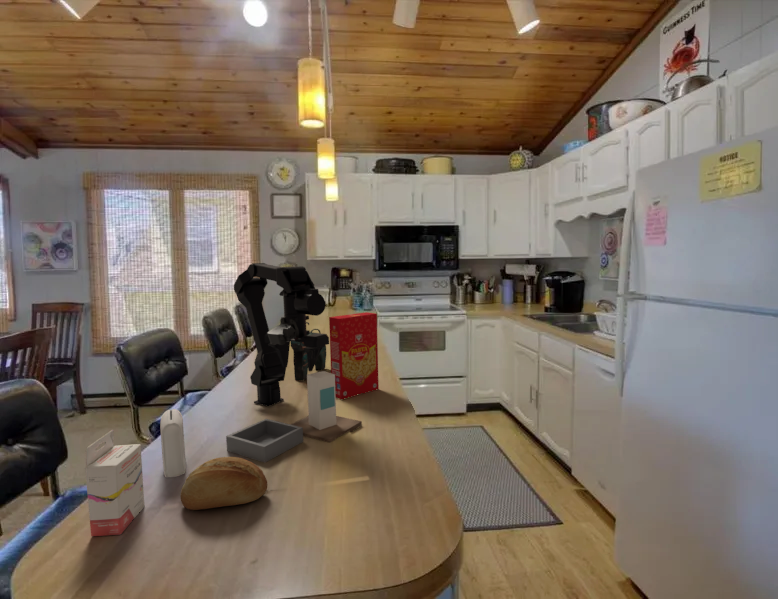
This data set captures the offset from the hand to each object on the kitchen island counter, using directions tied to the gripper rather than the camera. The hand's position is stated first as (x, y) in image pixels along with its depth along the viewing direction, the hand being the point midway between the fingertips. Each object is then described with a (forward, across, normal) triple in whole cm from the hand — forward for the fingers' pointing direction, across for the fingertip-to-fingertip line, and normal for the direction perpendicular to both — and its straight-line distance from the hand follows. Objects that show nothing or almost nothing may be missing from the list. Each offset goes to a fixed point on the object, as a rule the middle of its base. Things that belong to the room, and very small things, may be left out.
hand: (297, 369), depth 122 cm
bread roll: (+14, +18, -39) cm, 45 cm away
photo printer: (+13, -2, -36) cm, 38 cm away
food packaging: (+13, +2, +24) cm, 28 cm away
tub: (+13, +8, -20) cm, 25 cm away
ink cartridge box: (+14, +7, -52) cm, 54 cm away
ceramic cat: (+13, -26, +34) cm, 45 cm away
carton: (+12, +12, -4) cm, 17 cm away
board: (+13, +12, -4) cm, 18 cm away
